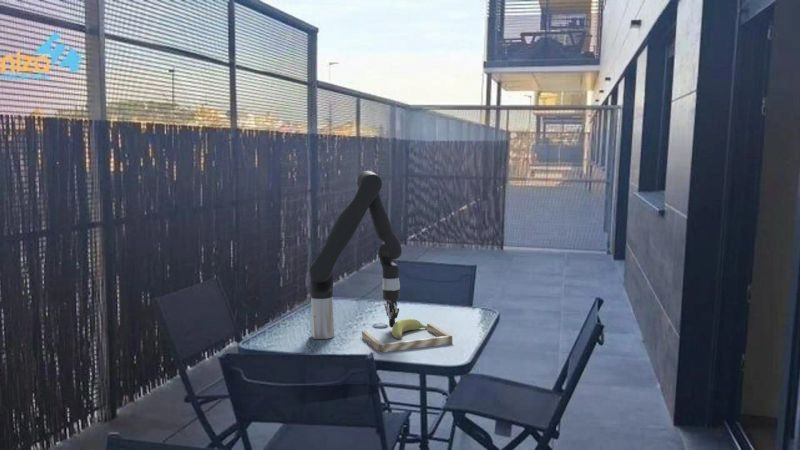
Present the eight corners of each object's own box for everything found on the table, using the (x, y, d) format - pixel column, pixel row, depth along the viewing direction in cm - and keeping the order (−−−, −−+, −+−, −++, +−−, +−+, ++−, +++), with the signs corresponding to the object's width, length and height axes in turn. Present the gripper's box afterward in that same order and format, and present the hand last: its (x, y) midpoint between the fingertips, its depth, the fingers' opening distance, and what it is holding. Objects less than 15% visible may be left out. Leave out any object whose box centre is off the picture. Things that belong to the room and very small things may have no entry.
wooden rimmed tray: (379, 352, 270) (379, 345, 269) (362, 337, 292) (361, 330, 291) (452, 343, 280) (452, 336, 280) (430, 329, 302) (430, 323, 302)
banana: (385, 316, 298) (425, 316, 307) (382, 328, 299) (422, 327, 309) (399, 331, 286) (440, 330, 296) (396, 343, 288) (437, 342, 298)
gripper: (378, 286, 305) (379, 324, 307) (388, 291, 293) (389, 331, 295) (394, 284, 308) (395, 322, 310) (404, 289, 296) (405, 329, 298)
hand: (392, 326), depth 303 cm, fingers closed
